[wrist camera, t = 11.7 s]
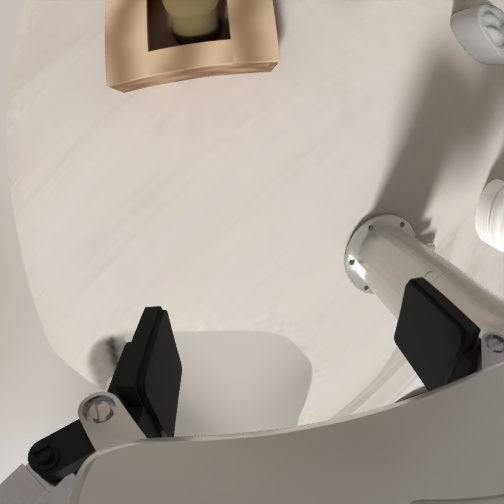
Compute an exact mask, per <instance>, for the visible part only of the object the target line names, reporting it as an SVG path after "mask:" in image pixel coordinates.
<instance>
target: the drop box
mask: <svg viewBox="0 0 504 504" xmlns="http://www.w3.org/2000/svg"><path fill="white" fill-rule="evenodd" d="M216 7H217V9H218V12H219V15H220V18H221V20H222V23H223V30H222V32H221V35H220V37H219V38H218V39H217V40H216V41H209V42H201V43H194V44H187V45H180V44H179V43H178V42H177V41H176V40H175V38H174V36H173V31H172V15H170V14H169V13H168V12H167V11H166V9H165V7H164V4H163V0H106V8H105V62H106V82H107V86H108V87H111V88H113V89H116V90H118V91H121V92H128V91H132V90H137V89H141V88H145V87H150V86H155V85H160V84H165V83H170V82H176V81H182V80H188V79H195V78H202V77H210V76H218V75H228V74H240V73H254V72H271V71H272V69H273V68H274V67H275V66H276V65H277V63H278V62H279V61H280V54H279V45H278V37H277V29H276V22H275V14H274V7H273V0H219V1H218V4H217V6H216Z"/></svg>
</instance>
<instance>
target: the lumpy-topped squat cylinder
mask: <svg viewBox="0 0 504 504" xmlns="http://www.w3.org/2000/svg"><path fill="white" fill-rule="evenodd" d="M450 25H451V29H452V32H453V34H454V36H455V37H456V39H457V41H458V42H459V44H460V45H461V46H462V48H463V49H464V50H465V51H466V52H467V53H468V54H469V55H470V56H471V57H472V58H473V59H475V60H477V61H479V62H481V63H484V64H488V65H499V64H504V13H503V12H502V11H501V10H500V9H499V8H497V7H493V6H491V5H488V4H482V5H479V6H475V7H471V8H468V9H465V10H461V11H458V12H456V13H454V14H453V15H452V17H451V21H450Z"/></svg>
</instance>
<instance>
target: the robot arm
mask: <svg viewBox="0 0 504 504" xmlns="http://www.w3.org/2000/svg"><path fill="white" fill-rule="evenodd" d="M434 250H435V245H434V244H433V243H426V244H424V243H422V242H421V241H419V240H418V239H416V235H415V232H414V230H413V228H412V227H411V225H410V224H409V223H408V222H407V221H406V220H404V219H402V218H401V217H398V216H396V215H391V214H384V215H379V216H376V217H373V218H371V219H369V220H368V221H366V222H365V223H364V224H363V225H361V226H360V227H359V228H358V230H357V231H356V232H355V233H354V235H353V236H352V238H351V239H350V242H349V244H348V246H347V250H346V253H345V270H346V273H347V276H348V278H349V280H350V281H351V282H352V284H353V285H354V286H355V287H356V288H357V289H359V290H360V291H362V292H365V293H370V294H376V295H377V296H378V298H379V299H380V300H381V301H382V302H383V303H384V305H385V306H386V307H387V308H388V309H389V310H390V312H391V313H392V314H393V315H394V316H395V317H396V319H397V320H398V323H397V327H396V331H395V335H394V340H395V343H396V345H397V346H398V347H399V349H400V350H401V352H402V353H403V355H404V356H405V357H406V359H407V360H408V362H409V363H410V365H411V366H412V367H413V369H414V370H415V372H416V373H417V375H418V376H419V378H420V379H421V381H422V382H423V384H424V385H425V387H426V388H427V390H428V391H429V392H426V393H423V394H421V395H418V396H415V397H412V398H409V399H406V400H403V401H400V402H397V403H394V404H390V405H387V406H384V407H380V408H377V409H373V410H370V411H366V412H362V413H358V414H354V415H350V416H346V417H342V418H337V419H333V420H328V421H323V422H318V423H312V424H307V425H301V426H295V427H290V428H282V429H276V430H267V431H258V432H249V433H237V434H224V435H208V436H181V437H174V430H175V421H176V413H177V404H178V396H179V390H180V382H181V375H182V365H181V361H180V358H179V354H178V351H177V347H176V343H175V340H174V336H173V332H172V328H171V324H170V320H169V316H168V312H167V310H162V308H161V307H160V306H156V307H145V309H144V312H143V314H142V316H141V319H140V321H139V324H138V326H137V329H136V331H135V334H134V336H133V339H132V342H128V343H126V345H125V347H124V349H123V352H122V354H121V357H120V359H119V362H118V365H117V367H116V370H115V372H114V375H113V378H112V381H111V383H110V386H109V389H108V392H96V393H94V394H91V395H89V396H88V397H86V398H85V399H84V400H83V401H82V402H81V404H80V406H79V408H78V416H79V419H78V420H76V421H75V422H73V423H71V424H69V425H67V426H66V427H64V428H62V429H60V430H58V431H56V432H55V433H53V434H51V435H49V436H47V437H45V438H43V439H41V440H39V441H38V442H36V443H35V444H34V445H33V446H32V447H31V449H30V451H29V454H28V462H29V463H28V464H27V465H26V466H25V465H24V464H22V465H20V466H19V467H18V468H17V469H16V470H15V471H14V472H13V473H12V474H11V475H10V476H9V477H8V478H7V479H6V480H5V481H3V482H2V483H1V484H0V504H504V299H503V298H501V297H499V296H498V295H496V294H494V293H493V292H491V291H490V290H489V289H487V288H486V287H484V286H483V285H481V284H480V283H478V282H477V281H476V280H474V279H473V278H471V277H470V276H469V275H467V274H466V273H465V272H463V271H462V270H460V269H459V268H457V267H456V266H455V265H453V264H452V263H450V262H449V261H447V260H446V259H445V258H443V257H442V256H440V255H439V254H437V253H436V252H434Z"/></svg>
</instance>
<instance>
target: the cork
mask: <svg viewBox="0 0 504 504" xmlns="http://www.w3.org/2000/svg"><path fill="white" fill-rule="evenodd" d="M218 1H219V0H163V4H164V7H165V9H166V11H167V12H168V13H169V14H170V15H172V31H173V36H174V38H175V40H176V41H177V42H178V43H179V44H180V45H187V44H194V43H201V42H209V41H216V40H217V39H218V38H219V37H220V35H221V32H222V30H223V23H222V20H221V18H220V15H219V12H218V9H217V7H216V6H217V4H218Z"/></svg>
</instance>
